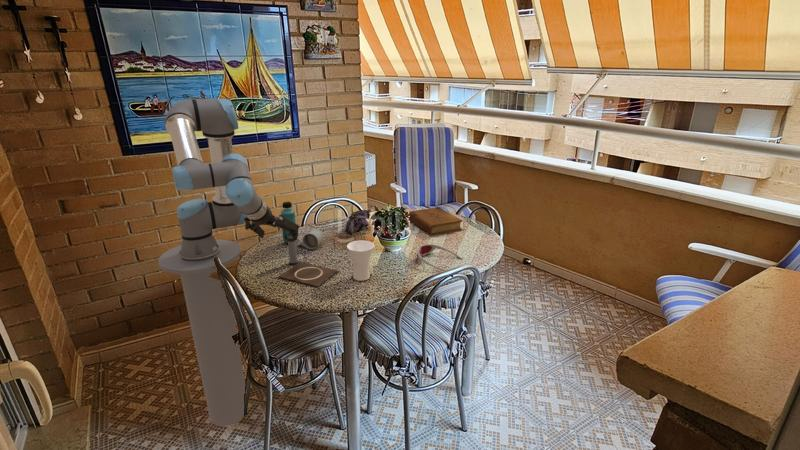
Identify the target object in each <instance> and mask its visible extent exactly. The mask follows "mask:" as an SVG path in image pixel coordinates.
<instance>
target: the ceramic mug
mask: <svg viewBox="0 0 800 450" xmlns="http://www.w3.org/2000/svg"><path fill="white" fill-rule="evenodd" d="M324 237H325V236H324V233H323V232H322V231H321V230H320V229H317V228H316V229H311V230H310V231H308V232H307V233H305V234H304V235H303V236H302V240H301V241H300V242H299V246H300V247H303V246H304V247H305V248H306V249H309V250H315V249H316V248H318V247H319V246H320V245H321V244H322V243H323V242H324Z"/></svg>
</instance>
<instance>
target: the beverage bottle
mask: <svg viewBox="0 0 800 450" xmlns="http://www.w3.org/2000/svg"><path fill="white" fill-rule="evenodd" d="M280 215H283V216H284V217H285V218H286V219H288V220H290V221H292V222H294V223H295V224H297V222H296V212H295V210H294V209H293V205H292V202H291V201H284V202H282V210H280ZM281 230H282V240H283V242H284V243H288V241H287V237H288V236H291V235H290V233H289V231H286V230H284V229H281Z"/></svg>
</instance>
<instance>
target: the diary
mask: <svg viewBox="0 0 800 450" xmlns="http://www.w3.org/2000/svg"><path fill="white" fill-rule="evenodd" d="M409 215H410V217H409ZM408 221H409V222H411V223H412V224H413V225H415V226H417V227H418V228H419V229H421V230H422V231H423V232H425V233H426V234H428V235H429V236H431V237H433V236H438V235H445V234H449V233H455V232H461V231H462V229H463V228H462V227H461V223H463V219H461V218H460V217H457V216H456V215H455V214H452V213H451V212H448V211H446V209H443V208H442V207H440V206H436V207H430V208H424V209H418V210H417V209H416V210H410V211H409V212H408Z"/></svg>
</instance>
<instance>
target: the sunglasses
mask: <svg viewBox="0 0 800 450" xmlns="http://www.w3.org/2000/svg"><path fill="white" fill-rule="evenodd" d="M436 249H437V250H441V251H444V252H448V253H450V254H452V255H454V256H455V257H457V258H458V259H462V257H461V256H460V255H458V254H456V253H455V252H453V251H451V250H450V249H447V248H445V247H443V246H441V245H438V244H434V243H425V244H421V245H419V246H418V248H417V250H416V252H417V253H416V262H417V263H418V264H419V263H424V264H425V265H427V266H430V267H433V268H435V269H437V270H439V271H441V272H444V271H445V270H446V269H444V268H441V267H439V266H437V265H434V264H432V263H431V262H429V261H427V260H426V259H425V258H423V257H424V256H426V255H428V254H430V253H432V252H433V251H435V250H436ZM422 256H423V257H422Z"/></svg>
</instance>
